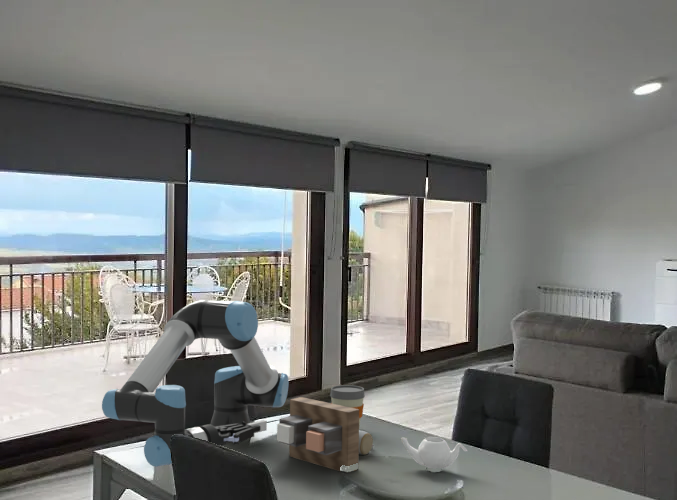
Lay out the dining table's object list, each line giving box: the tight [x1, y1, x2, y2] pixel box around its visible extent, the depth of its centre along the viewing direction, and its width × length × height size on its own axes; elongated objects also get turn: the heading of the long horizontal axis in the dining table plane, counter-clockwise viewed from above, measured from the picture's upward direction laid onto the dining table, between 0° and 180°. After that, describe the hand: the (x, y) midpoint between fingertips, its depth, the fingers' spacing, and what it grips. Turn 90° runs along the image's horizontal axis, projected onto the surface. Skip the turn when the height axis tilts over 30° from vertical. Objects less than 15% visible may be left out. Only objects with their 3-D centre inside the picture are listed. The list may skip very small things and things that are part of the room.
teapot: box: [400, 436, 469, 469], centre depth 206 cm, size 10×20×9 cm, turn 81°
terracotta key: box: [306, 430, 324, 452], centre depth 200 cm, size 5×4×5 cm
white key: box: [276, 423, 295, 445], centre depth 208 cm, size 5×4×5 cm
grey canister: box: [359, 429, 375, 456], centre depth 223 cm, size 11×8×8 cm
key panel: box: [278, 396, 360, 472], centre depth 209 cm, size 24×12×18 cm, turn 50°
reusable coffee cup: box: [329, 384, 365, 428], centre depth 250 cm, size 13×13×15 cm
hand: (264, 425), depth 200 cm, fingers closed
